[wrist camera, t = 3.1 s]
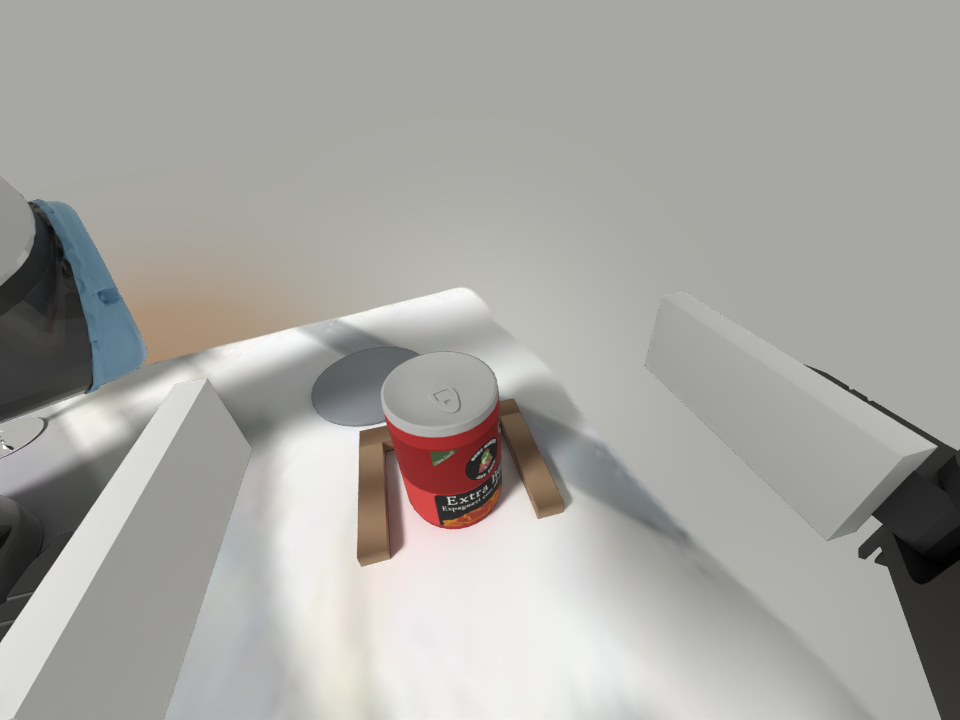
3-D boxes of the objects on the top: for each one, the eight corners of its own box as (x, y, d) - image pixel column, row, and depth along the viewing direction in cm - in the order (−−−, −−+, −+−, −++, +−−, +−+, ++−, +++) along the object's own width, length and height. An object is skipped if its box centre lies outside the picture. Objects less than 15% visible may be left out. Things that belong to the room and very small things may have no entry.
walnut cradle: (563, 512, 28) (564, 503, 28) (361, 566, 26) (357, 558, 25) (513, 407, 38) (513, 398, 37) (362, 440, 35) (359, 431, 35)
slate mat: (287, 405, 40) (285, 401, 40) (366, 342, 49) (365, 338, 49) (383, 442, 35) (382, 438, 35) (452, 364, 44) (451, 360, 44)
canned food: (451, 555, 26) (431, 452, 20) (388, 487, 31) (355, 386, 25) (522, 486, 30) (524, 382, 24) (457, 436, 35) (444, 338, 29)
